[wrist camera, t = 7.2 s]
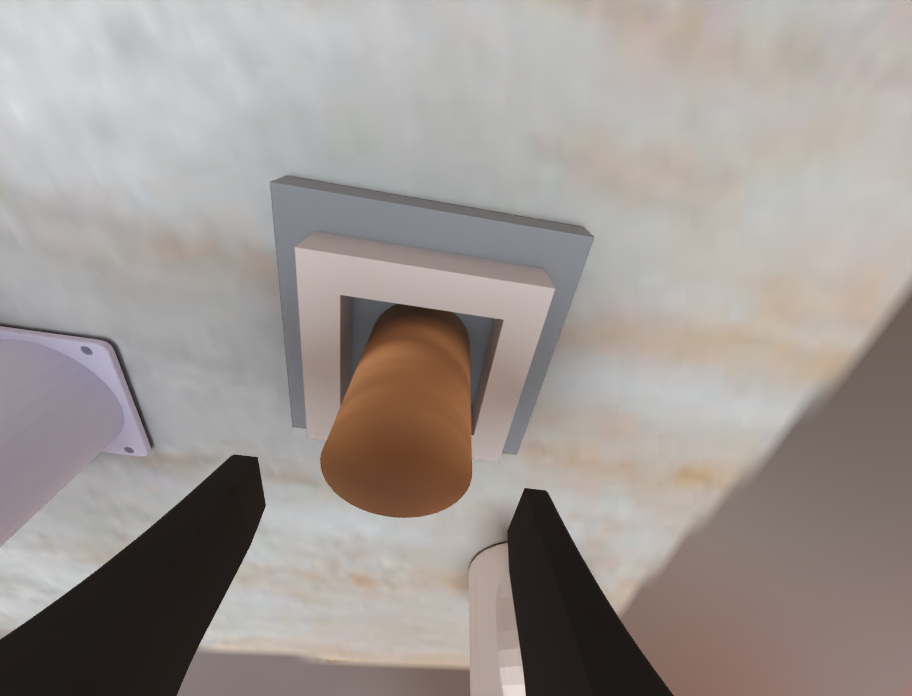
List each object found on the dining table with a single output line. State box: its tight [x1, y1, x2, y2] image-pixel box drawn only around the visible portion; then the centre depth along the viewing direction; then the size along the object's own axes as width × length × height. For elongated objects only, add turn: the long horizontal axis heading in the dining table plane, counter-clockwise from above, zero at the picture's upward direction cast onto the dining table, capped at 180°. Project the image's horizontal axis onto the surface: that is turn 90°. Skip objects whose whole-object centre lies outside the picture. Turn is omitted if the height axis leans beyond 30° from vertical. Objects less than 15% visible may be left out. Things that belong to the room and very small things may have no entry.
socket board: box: [270, 176, 594, 462], centre depth 17 cm, size 12×12×4 cm
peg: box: [320, 304, 472, 518], centre depth 14 cm, size 4×4×7 cm
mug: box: [469, 543, 526, 696], centre depth 24 cm, size 12×8×10 cm, turn 15°
